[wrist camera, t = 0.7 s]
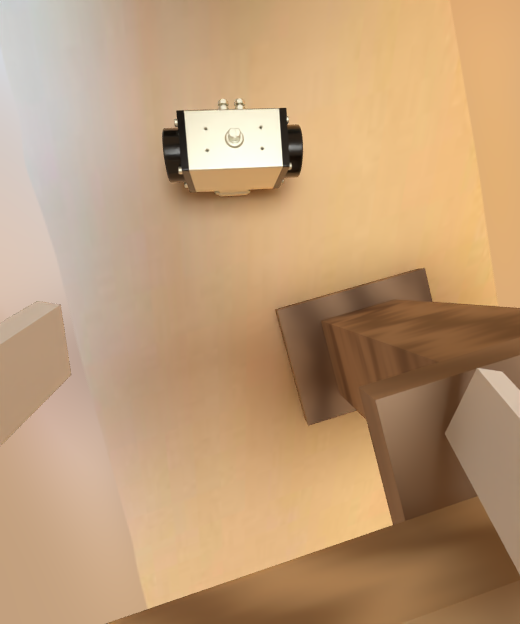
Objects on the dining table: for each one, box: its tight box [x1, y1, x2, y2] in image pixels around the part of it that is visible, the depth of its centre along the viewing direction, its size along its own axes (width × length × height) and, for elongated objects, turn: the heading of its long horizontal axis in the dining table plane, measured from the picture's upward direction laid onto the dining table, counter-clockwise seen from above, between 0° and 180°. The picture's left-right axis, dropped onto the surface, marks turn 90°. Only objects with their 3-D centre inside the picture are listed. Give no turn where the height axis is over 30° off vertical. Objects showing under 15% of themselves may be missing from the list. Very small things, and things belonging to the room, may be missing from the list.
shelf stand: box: [275, 268, 520, 525], centre depth 27 cm, size 20×14×28 cm
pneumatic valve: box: [162, 99, 303, 196], centre depth 32 cm, size 6×12×12 cm, turn 94°
